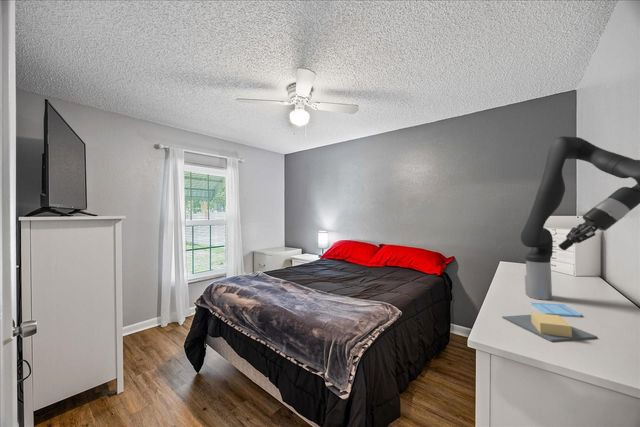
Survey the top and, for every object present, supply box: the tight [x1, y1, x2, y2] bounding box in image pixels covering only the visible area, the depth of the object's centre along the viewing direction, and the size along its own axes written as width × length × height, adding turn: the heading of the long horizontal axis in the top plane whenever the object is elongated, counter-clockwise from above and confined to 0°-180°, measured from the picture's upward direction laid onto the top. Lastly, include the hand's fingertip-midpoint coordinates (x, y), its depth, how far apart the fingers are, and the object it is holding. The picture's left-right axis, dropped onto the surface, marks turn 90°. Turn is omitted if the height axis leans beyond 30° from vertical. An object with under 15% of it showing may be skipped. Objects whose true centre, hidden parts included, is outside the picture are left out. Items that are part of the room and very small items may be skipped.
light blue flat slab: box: [530, 302, 583, 318], centre depth 110 cm, size 14×12×1 cm
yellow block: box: [530, 312, 572, 337], centre depth 91 cm, size 8×4×10 cm
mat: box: [501, 314, 598, 342], centre depth 94 cm, size 20×16×1 cm
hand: (561, 248), depth 97 cm, fingers closed
